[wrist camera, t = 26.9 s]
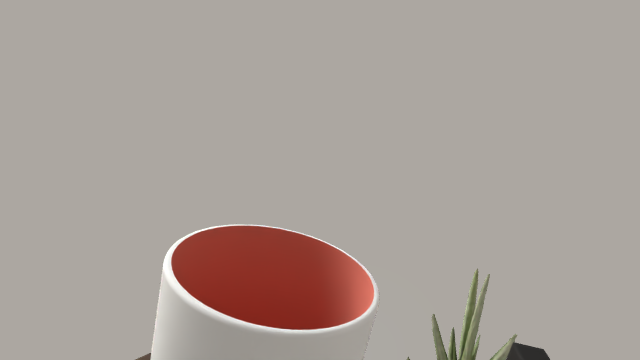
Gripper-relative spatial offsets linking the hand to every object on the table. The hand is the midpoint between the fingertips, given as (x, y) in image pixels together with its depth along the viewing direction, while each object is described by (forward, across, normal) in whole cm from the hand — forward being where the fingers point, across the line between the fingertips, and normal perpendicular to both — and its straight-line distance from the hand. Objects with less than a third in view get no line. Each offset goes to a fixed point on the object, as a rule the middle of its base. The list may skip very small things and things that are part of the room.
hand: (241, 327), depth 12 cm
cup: (+10, 0, -14) cm, 17 cm away
